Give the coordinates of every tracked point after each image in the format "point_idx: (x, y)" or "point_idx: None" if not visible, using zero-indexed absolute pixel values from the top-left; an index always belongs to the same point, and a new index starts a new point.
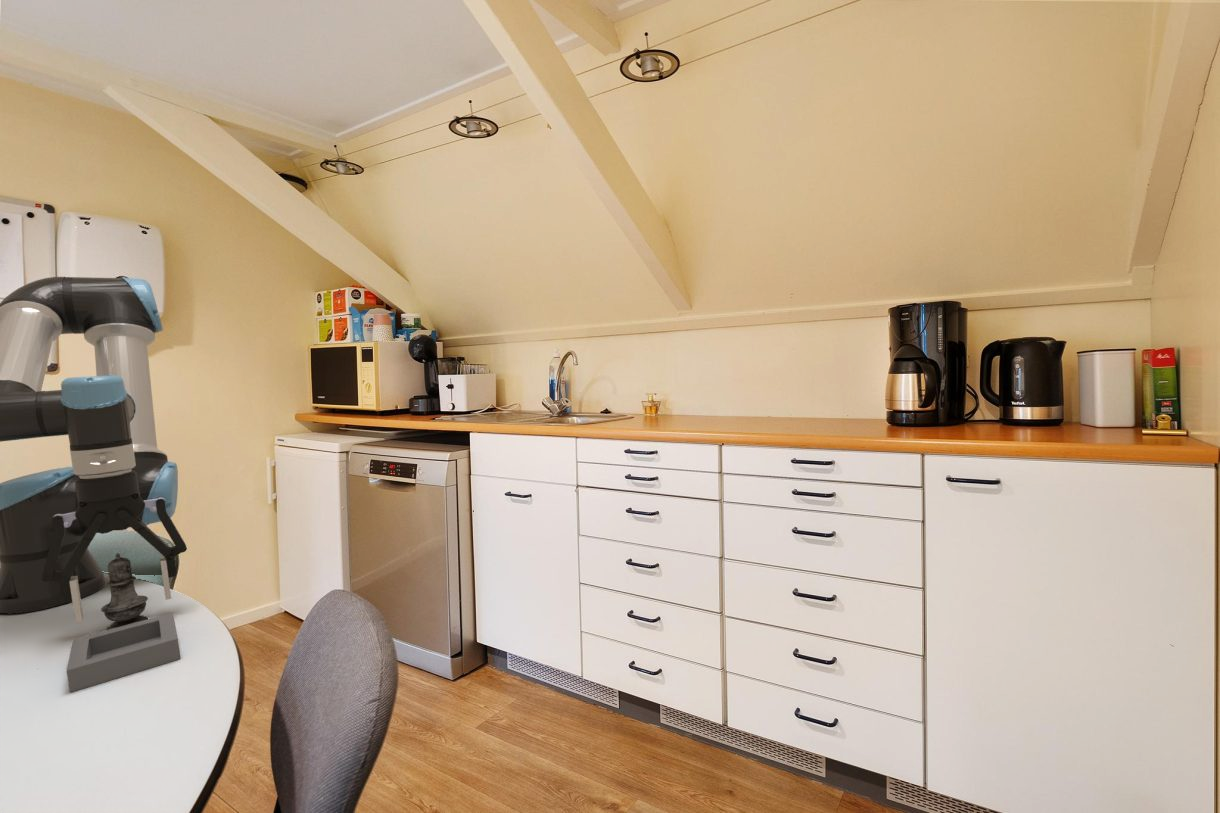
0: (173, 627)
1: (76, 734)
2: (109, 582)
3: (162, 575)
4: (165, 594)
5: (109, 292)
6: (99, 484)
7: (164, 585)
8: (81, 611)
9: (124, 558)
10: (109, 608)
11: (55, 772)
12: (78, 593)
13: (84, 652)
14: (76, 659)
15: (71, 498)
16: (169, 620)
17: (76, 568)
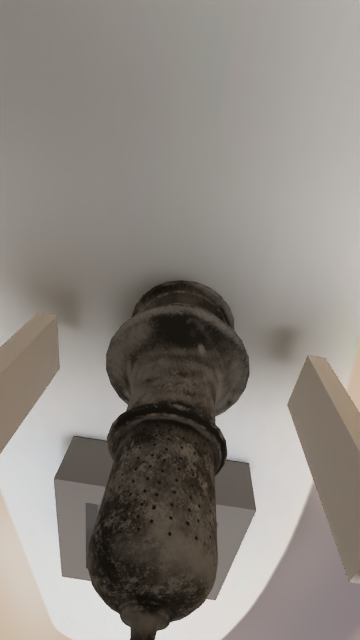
0: (226, 567)
1: (91, 600)
2: (116, 451)
3: (319, 494)
4: (294, 418)
5: None
6: None
7: (305, 451)
8: (46, 364)
9: (183, 615)
10: (128, 396)
11: (80, 625)
12: (2, 431)
13: (81, 544)
14: (71, 557)
15: None
16: (233, 538)
17: None
